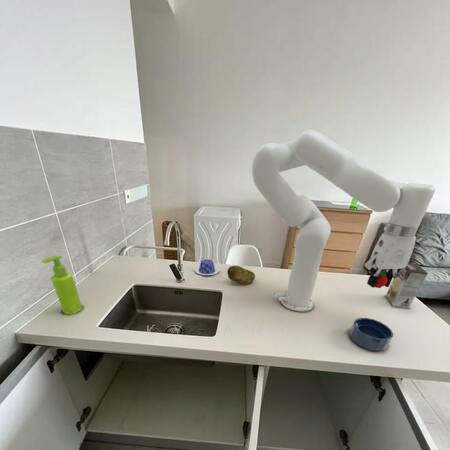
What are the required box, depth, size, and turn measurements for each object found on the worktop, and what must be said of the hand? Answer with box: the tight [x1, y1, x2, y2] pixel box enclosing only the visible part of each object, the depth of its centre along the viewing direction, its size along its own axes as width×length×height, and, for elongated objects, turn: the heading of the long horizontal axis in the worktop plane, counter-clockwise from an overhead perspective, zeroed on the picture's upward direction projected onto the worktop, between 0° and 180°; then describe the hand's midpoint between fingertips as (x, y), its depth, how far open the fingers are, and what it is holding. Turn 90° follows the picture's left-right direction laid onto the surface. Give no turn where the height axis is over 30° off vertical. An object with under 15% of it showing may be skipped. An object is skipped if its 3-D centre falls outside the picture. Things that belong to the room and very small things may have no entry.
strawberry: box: [374, 271, 388, 289], centre depth 79 cm, size 4×4×5 cm
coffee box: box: [385, 262, 429, 309], centre depth 98 cm, size 9×6×16 cm
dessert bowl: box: [349, 317, 394, 352], centre depth 79 cm, size 11×11×5 cm
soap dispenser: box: [41, 254, 83, 315], centre depth 81 cm, size 6×7×20 cm
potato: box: [226, 265, 256, 285], centre depth 108 cm, size 8×13×8 cm, turn 89°
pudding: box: [194, 258, 220, 276], centre depth 118 cm, size 12×12×5 cm
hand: (377, 284), depth 80 cm, fingers closed on strawberry, 4 cm apart
